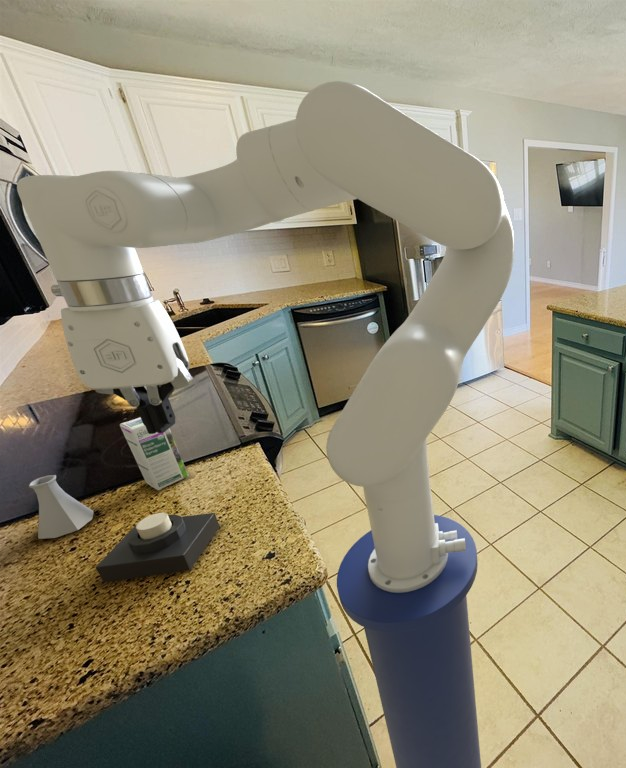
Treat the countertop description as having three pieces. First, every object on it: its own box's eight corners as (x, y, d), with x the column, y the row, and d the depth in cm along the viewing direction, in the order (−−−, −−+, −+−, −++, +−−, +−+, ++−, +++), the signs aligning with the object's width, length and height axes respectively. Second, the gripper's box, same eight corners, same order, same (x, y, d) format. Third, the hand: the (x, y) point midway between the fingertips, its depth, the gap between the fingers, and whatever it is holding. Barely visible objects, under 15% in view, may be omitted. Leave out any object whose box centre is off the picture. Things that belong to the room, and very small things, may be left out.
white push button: (177, 520, 68) (173, 511, 67) (163, 538, 65) (158, 527, 64) (150, 524, 68) (146, 514, 67) (134, 541, 64) (129, 531, 63)
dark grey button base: (220, 526, 73) (211, 504, 71) (190, 570, 64) (179, 546, 62) (145, 536, 71) (134, 513, 69) (103, 583, 62) (89, 558, 60)
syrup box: (157, 491, 83) (130, 429, 78) (145, 483, 86) (118, 422, 80) (189, 477, 88) (166, 417, 82) (176, 469, 90) (152, 411, 85)
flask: (28, 545, 70) (-1, 497, 66) (53, 518, 76) (28, 473, 72) (82, 533, 72) (57, 486, 69) (102, 508, 79) (80, 464, 75)
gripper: (4, 302, 44) (77, 449, 51) (160, 294, 46) (209, 436, 53) (62, 290, 50) (119, 421, 57) (195, 284, 53) (235, 411, 60)
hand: (162, 428), depth 55 cm, fingers closed
